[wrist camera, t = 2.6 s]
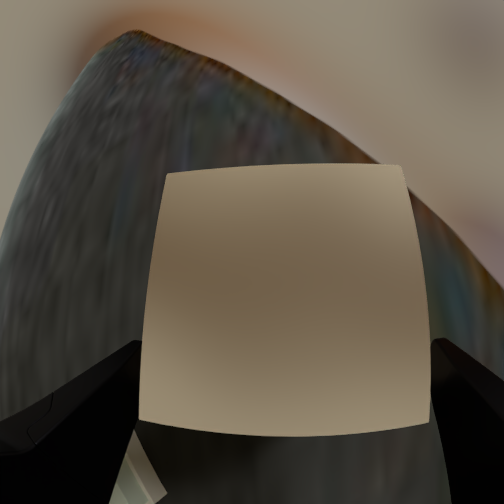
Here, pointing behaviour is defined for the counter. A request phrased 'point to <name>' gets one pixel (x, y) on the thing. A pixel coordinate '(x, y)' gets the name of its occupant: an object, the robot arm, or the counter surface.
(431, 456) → the counter surface
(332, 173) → the beech post
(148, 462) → the cream slab
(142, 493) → the sage slab
